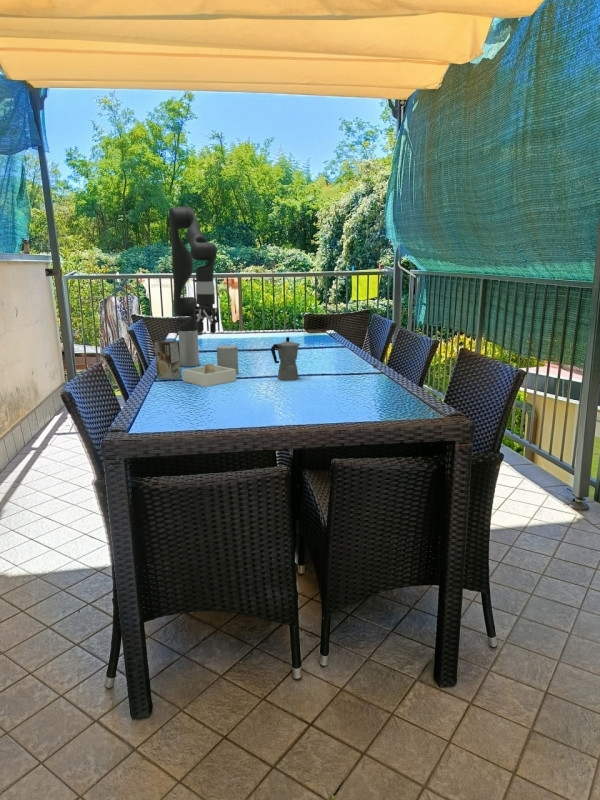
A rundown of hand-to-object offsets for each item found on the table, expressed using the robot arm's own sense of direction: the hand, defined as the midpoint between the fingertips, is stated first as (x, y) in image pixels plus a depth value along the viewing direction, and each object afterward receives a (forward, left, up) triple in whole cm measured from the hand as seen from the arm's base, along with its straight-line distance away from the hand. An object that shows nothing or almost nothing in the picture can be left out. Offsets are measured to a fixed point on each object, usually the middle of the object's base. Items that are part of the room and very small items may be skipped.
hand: (207, 331), depth 232 cm
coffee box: (-17, -9, -21) cm, 29 cm away
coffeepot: (+22, +25, -21) cm, 39 cm away
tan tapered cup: (+2, -1, -20) cm, 20 cm away
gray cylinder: (-6, +15, -21) cm, 27 cm away
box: (+2, -1, -21) cm, 21 cm away
